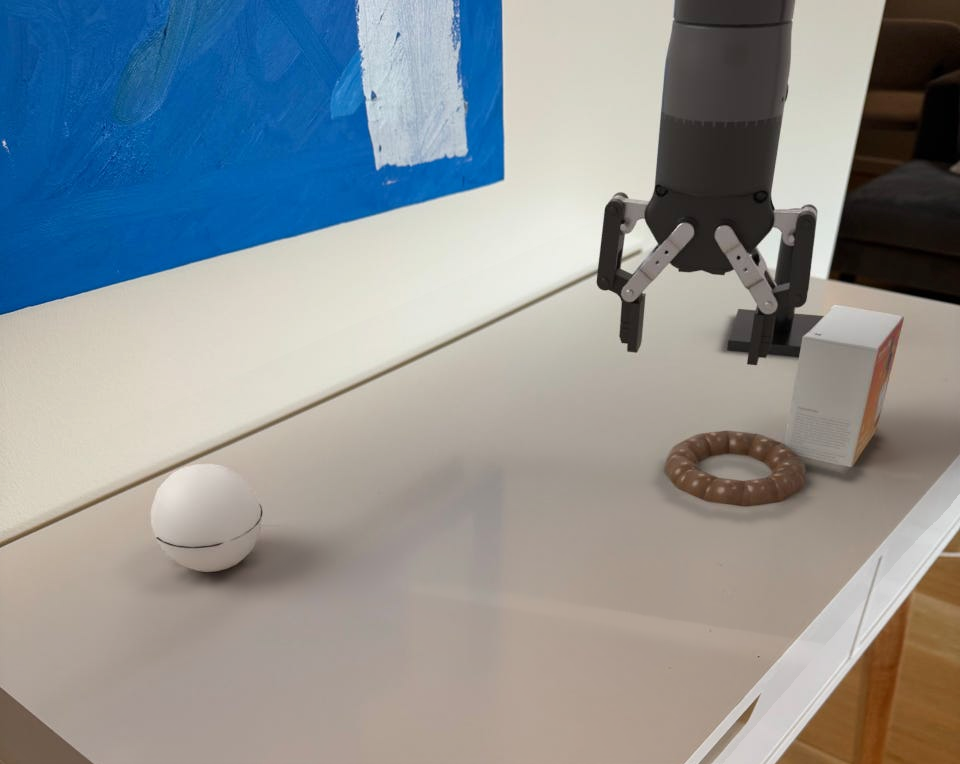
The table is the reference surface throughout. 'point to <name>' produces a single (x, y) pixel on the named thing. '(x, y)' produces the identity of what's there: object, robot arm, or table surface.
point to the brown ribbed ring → (729, 491)
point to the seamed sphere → (206, 517)
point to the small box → (841, 383)
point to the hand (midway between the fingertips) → (693, 354)
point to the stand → (786, 322)
